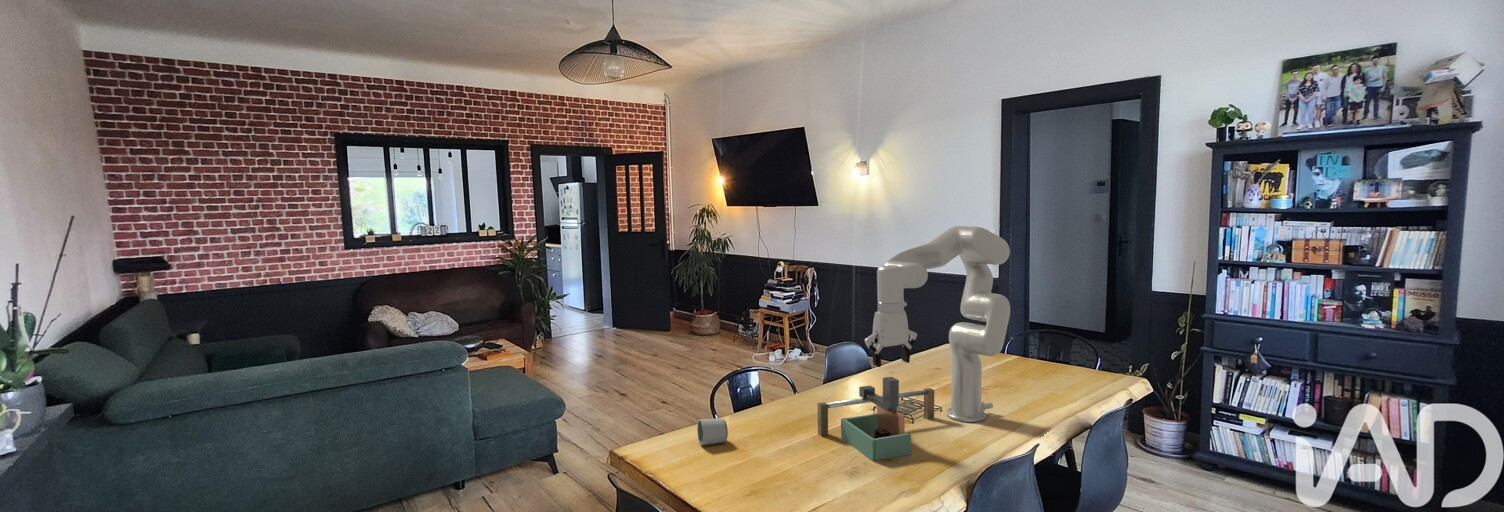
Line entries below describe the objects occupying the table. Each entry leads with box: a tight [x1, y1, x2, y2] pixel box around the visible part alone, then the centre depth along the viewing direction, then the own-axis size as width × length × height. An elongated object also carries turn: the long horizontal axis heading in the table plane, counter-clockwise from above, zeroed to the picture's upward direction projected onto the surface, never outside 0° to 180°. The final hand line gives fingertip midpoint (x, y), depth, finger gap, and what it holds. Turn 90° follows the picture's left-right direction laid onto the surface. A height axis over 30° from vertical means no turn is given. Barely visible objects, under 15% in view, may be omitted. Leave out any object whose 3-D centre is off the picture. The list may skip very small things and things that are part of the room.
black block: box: [874, 429, 890, 439], centre depth 192 cm, size 12×7×5 cm, turn 21°
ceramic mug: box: [696, 418, 729, 447], centre depth 197 cm, size 11×8×8 cm
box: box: [840, 413, 912, 462], centre depth 191 cm, size 12×19×6 cm, turn 19°
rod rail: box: [817, 387, 935, 437], centre depth 207 cm, size 41×2×10 cm, turn 109°
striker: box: [858, 376, 906, 436], centre depth 196 cm, size 4×22×18 cm, turn 19°
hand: (891, 363), depth 191 cm, fingers open, 9 cm apart
